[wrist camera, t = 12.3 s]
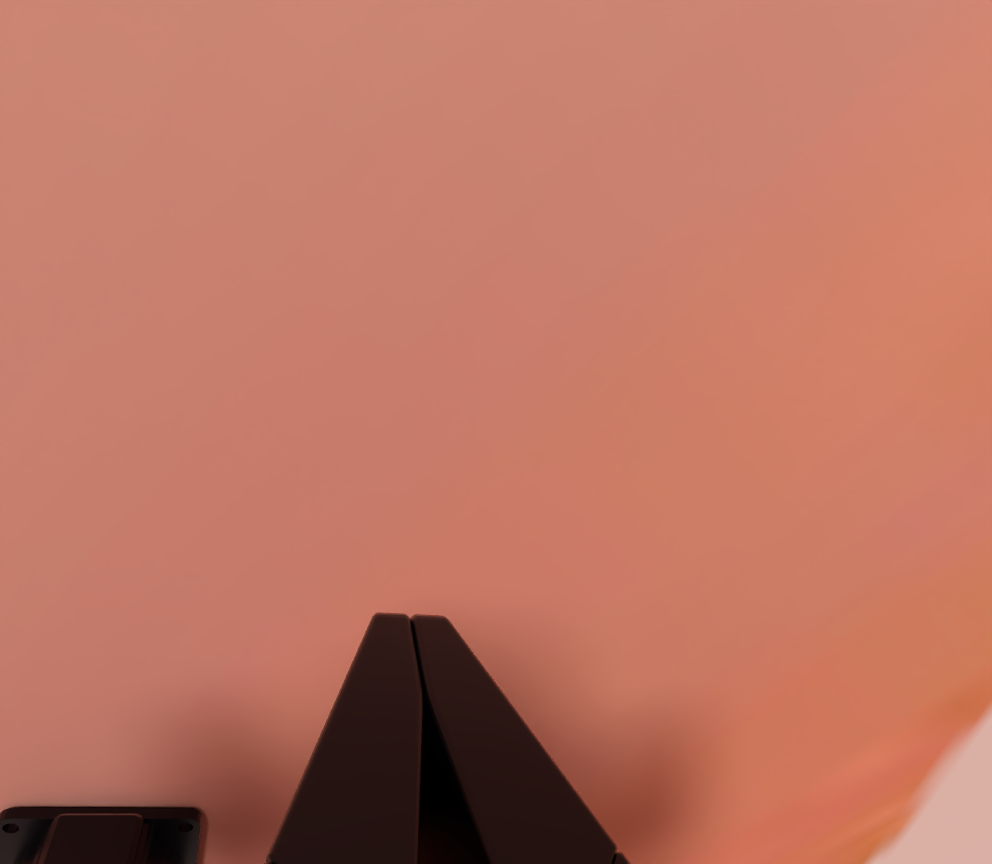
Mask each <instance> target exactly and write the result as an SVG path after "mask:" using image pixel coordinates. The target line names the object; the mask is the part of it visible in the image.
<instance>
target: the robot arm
mask: <svg viewBox="0 0 992 864" xmlns="http://www.w3.org/2000/svg"><path fill="white" fill-rule="evenodd" d="M201 823H202V814H201V813H200V812H199V811H198V810H195V809H190V808H9V809H6V810H3V811H2V812H1V813H0V864H197V859H198V850H199V841H200V832H201ZM616 851H617V846H616V844H615V843H614V842H613V840H612V839H611V838H610V836H609V835H608V833H607V832H606V831H605V829H604V828H603V827H602V825H601V824H600V823H599V821H598V820H597V819H596V817H595V816H594V815H593V813H592V812H591V811H590V809H589V808H588V807H587V805H586V804H585V803H584V801H583V800H582V798H581V797H580V796H579V794H578V793H577V792H576V790H575V789H574V788H573V786H572V785H571V784H570V782H569V781H568V780H567V778H566V777H565V776H564V774H563V773H562V772H561V770H560V769H559V768H558V766H557V765H556V764H555V762H554V761H553V759H552V758H551V757H550V755H549V754H548V753H547V751H546V750H545V749H544V747H543V746H542V745H541V743H540V742H539V741H538V739H537V738H536V737H535V735H534V734H533V733H532V731H531V730H530V729H529V727H528V726H527V725H526V723H525V722H524V720H523V719H522V718H521V716H520V715H519V714H518V712H517V711H516V710H515V708H514V707H513V706H512V704H511V703H510V702H509V700H508V699H507V698H506V696H505V695H504V694H503V692H502V691H501V690H500V688H499V687H498V685H497V684H496V683H495V681H494V680H493V679H492V677H491V676H490V675H489V673H488V672H487V671H486V669H485V668H484V667H483V665H482V664H481V663H480V661H479V660H478V659H477V657H476V656H475V655H474V653H473V652H472V651H471V649H470V648H469V646H468V645H467V644H466V642H465V641H464V640H463V638H462V637H461V636H460V634H459V633H458V632H457V630H456V629H455V628H454V626H453V625H452V624H451V622H450V621H449V620H448V619H447V618H446V617H444V616H438V615H418V614H417V615H414V616H412V617H411V618H409V617H408V616H407V615H406V614H398V613H376V614H375V615H374V616H373V617H372V619H371V621H370V623H369V626H368V628H367V630H366V632H365V635H364V637H363V639H362V642H361V644H360V646H359V648H358V651H357V653H356V655H355V658H354V660H353V662H352V664H351V667H350V669H349V671H348V673H347V676H346V678H345V680H344V683H343V685H342V687H341V689H340V692H339V694H338V696H337V698H336V701H335V703H334V705H333V708H332V710H331V712H330V714H329V717H328V719H327V721H326V723H325V726H324V728H323V730H322V733H321V735H320V737H319V739H318V742H317V744H316V746H315V749H314V751H313V753H312V755H311V758H310V760H309V762H308V764H307V767H306V769H305V771H304V774H303V776H302V778H301V780H300V783H299V785H298V787H297V789H296V792H295V794H294V796H293V799H292V801H291V803H290V805H289V808H288V810H287V812H286V814H285V817H284V819H283V821H282V824H281V826H280V828H279V830H278V833H277V835H276V837H275V839H274V842H273V844H272V846H271V849H270V851H269V853H268V855H267V860H266V863H264V864H630V863H629V861H628V860H627V859H626V857H625V856H624V855H623V853H621V852H618V853H616ZM615 854H616V855H615Z"/></svg>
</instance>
